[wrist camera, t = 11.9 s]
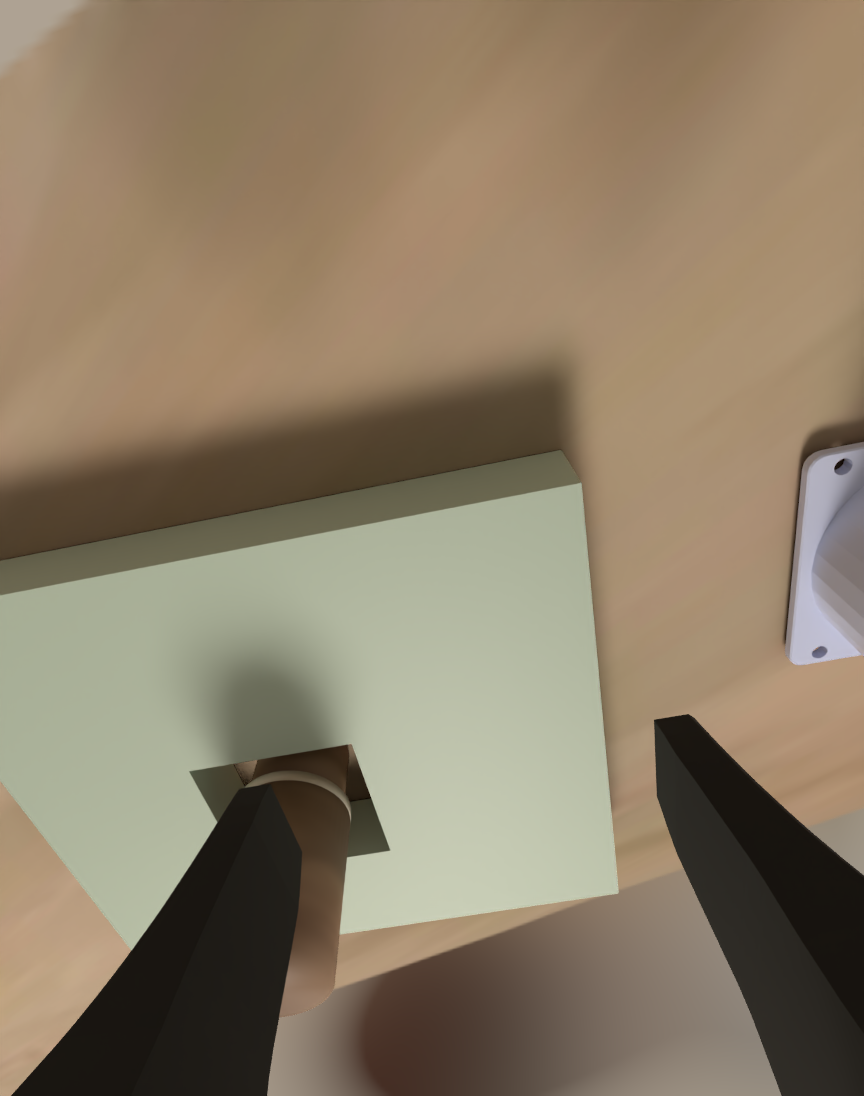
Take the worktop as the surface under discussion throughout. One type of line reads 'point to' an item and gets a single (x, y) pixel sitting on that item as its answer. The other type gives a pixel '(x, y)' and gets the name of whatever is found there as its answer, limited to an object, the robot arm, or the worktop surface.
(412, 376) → the worktop surface
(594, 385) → the worktop surface
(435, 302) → the worktop surface
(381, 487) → the socket board
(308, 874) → the walnut leg
